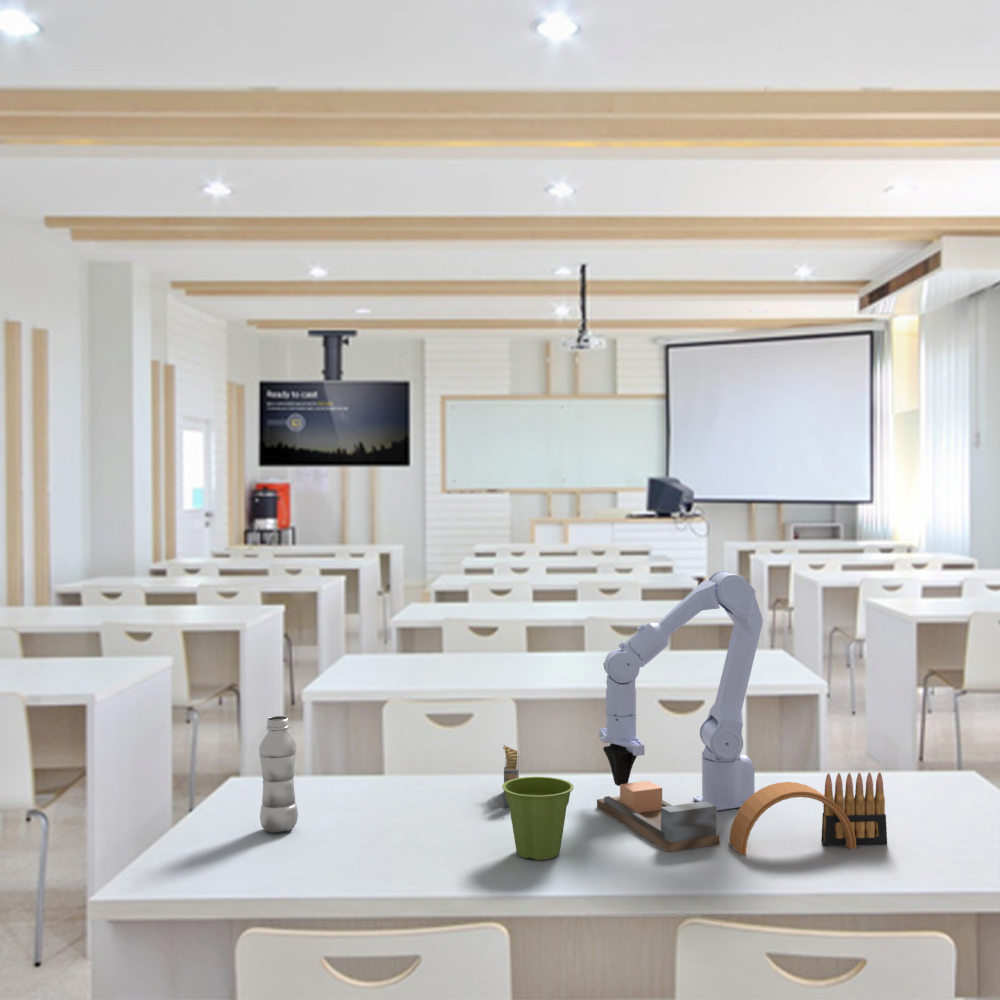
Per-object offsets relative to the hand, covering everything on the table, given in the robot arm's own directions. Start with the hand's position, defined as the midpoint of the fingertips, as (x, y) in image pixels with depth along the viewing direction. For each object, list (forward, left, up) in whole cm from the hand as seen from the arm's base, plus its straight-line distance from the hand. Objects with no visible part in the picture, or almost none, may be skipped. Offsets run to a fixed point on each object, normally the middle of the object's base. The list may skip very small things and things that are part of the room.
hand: (621, 784), depth 195 cm
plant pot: (+25, +18, -4) cm, 31 cm away
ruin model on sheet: (+18, -11, -5) cm, 22 cm away
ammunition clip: (-26, +34, -4) cm, 43 cm away
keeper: (0, +8, -2) cm, 8 cm away
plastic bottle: (+63, -10, -4) cm, 64 cm away
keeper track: (0, +13, -4) cm, 13 cm away
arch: (-16, +31, -4) cm, 35 cm away
